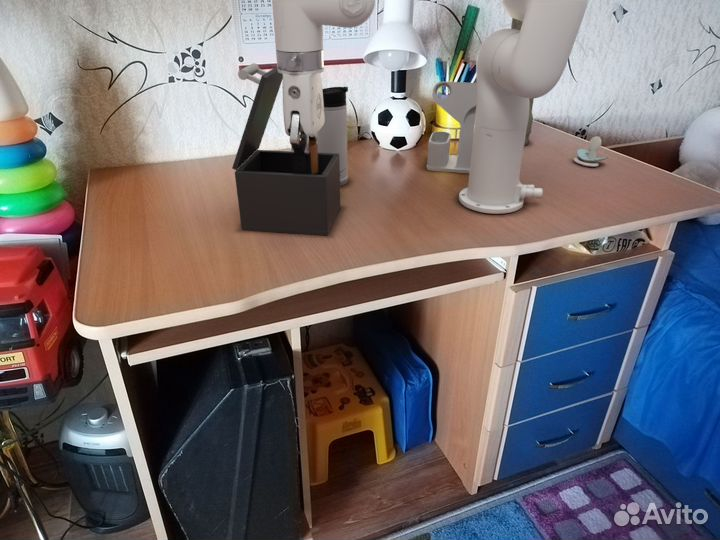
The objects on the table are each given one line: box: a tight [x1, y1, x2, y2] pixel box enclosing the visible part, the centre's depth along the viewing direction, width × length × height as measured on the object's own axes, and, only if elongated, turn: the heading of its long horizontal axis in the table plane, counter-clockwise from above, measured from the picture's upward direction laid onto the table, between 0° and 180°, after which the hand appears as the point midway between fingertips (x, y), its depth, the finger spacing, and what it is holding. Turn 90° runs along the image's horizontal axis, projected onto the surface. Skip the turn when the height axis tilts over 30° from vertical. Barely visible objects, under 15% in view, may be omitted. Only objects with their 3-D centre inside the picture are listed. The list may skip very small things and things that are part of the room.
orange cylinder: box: [300, 139, 319, 174], centre depth 95 cm, size 4×4×5 cm
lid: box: [231, 62, 283, 171], centre depth 92 cm, size 17×12×5 cm
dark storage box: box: [234, 149, 341, 237], centre depth 99 cm, size 16×12×11 cm
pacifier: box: [573, 135, 609, 168], centre depth 126 cm, size 7×6×6 cm
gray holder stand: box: [425, 81, 477, 174], centre depth 122 cm, size 17×10×18 cm, turn 76°
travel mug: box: [317, 86, 349, 187], centre depth 112 cm, size 6×7×20 cm
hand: (306, 169), depth 96 cm, fingers closed on orange cylinder, 4 cm apart
